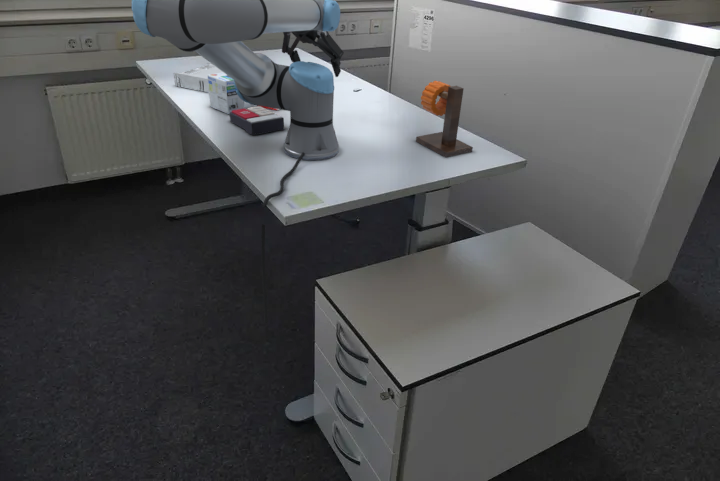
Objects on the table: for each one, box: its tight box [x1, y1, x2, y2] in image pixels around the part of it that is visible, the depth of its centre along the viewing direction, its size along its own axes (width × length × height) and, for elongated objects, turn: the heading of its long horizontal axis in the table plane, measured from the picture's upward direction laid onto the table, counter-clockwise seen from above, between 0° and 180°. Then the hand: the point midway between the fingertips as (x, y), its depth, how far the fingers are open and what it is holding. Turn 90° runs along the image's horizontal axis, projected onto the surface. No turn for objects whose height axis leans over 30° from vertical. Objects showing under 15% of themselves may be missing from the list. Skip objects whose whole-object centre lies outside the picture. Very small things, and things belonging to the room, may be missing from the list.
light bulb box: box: [207, 72, 245, 115], centre depth 183 cm, size 11×7×11 cm, turn 47°
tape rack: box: [415, 85, 474, 158], centre depth 161 cm, size 16×10×18 cm, turn 32°
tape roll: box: [420, 80, 452, 117], centre depth 162 cm, size 9×5×9 cm, turn 122°
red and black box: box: [229, 105, 285, 136], centre depth 172 cm, size 11×4×15 cm
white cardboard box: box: [173, 62, 222, 94], centre depth 206 cm, size 19×33×5 cm, turn 64°
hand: (319, 71), depth 177 cm, fingers open, 13 cm apart
